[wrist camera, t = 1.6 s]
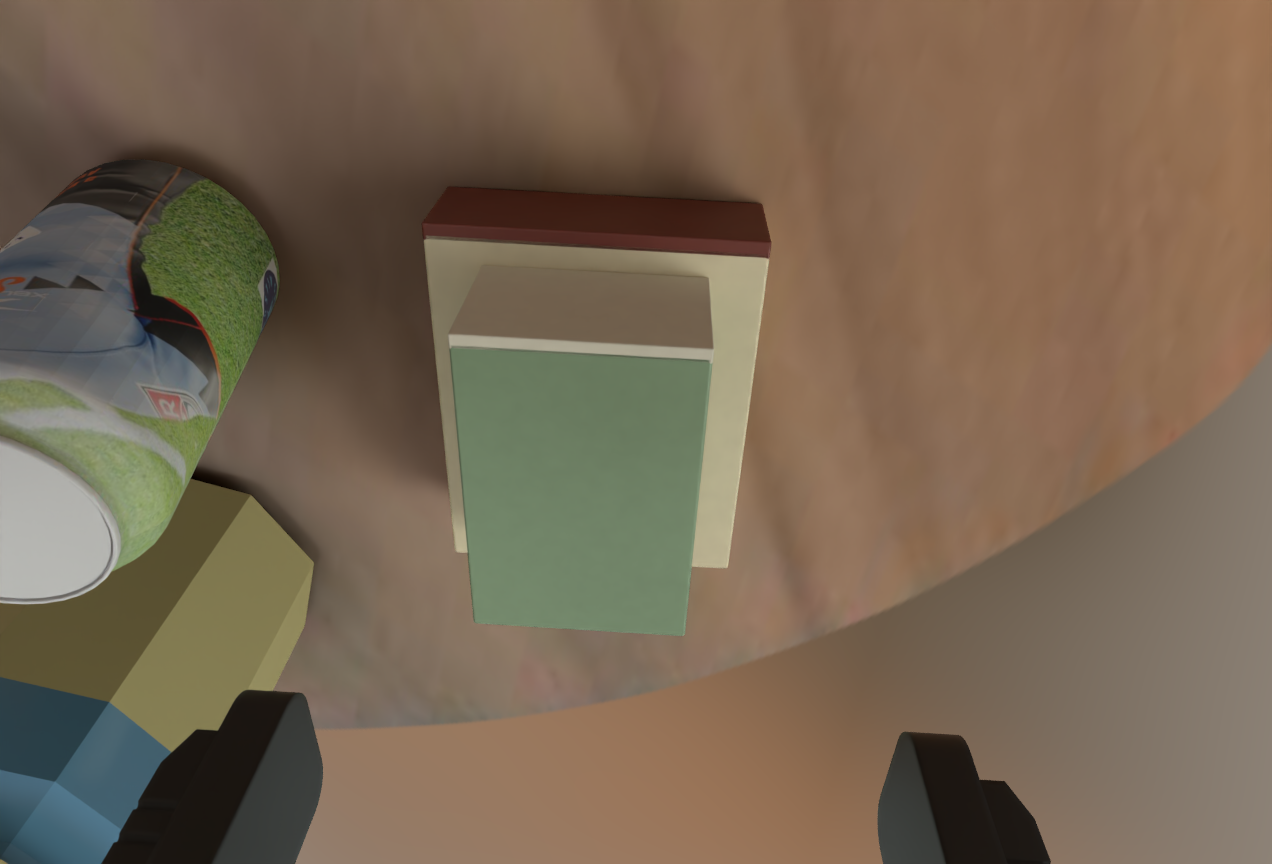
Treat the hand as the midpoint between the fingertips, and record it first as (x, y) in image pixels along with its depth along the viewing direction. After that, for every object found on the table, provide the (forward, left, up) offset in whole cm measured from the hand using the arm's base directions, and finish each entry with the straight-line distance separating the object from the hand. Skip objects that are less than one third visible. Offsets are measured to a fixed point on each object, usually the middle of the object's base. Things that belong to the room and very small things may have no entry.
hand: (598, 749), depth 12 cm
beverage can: (+1, -13, -17) cm, 21 cm away
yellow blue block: (+13, -16, -17) cm, 27 cm away
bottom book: (+4, -1, -17) cm, 17 cm away
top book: (+4, -1, -14) cm, 14 cm away
